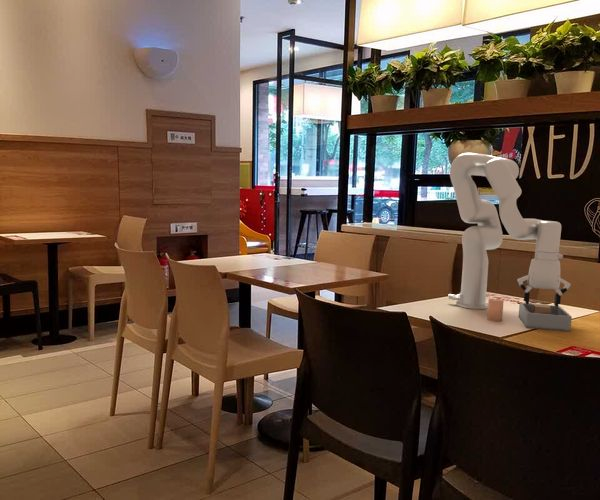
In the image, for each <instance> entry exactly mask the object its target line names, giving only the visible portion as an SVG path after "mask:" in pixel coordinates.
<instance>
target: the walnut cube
mask: <svg viewBox="0 0 600 500" xmlns="http://www.w3.org/2000/svg"><path fill="white" fill-rule="evenodd" d="M532 304H533V312H532V313H538V314H550V313H551V307H550V306H549V304H541V303H532Z"/></svg>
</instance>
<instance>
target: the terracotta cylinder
mask: <svg viewBox="0 0 600 500" xmlns="http://www.w3.org/2000/svg"><path fill="white" fill-rule="evenodd" d="M504 302H505V301H504V300H503V299H499V298H488V302H487V303H488V309H487V317H486V318H487V320H488V321H492V322H502V321H503V315H504V312H503V311H504Z"/></svg>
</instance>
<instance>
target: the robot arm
mask: <svg viewBox="0 0 600 500" xmlns="http://www.w3.org/2000/svg"><path fill="white" fill-rule="evenodd" d="M519 173H520V169H519V165H518V164H517V162H516V161H514V160H513V159H508V158H503V157H498V156H493V155H490V154H483V153H476V152H464V153H461V154H459V155H457V156H456V157H454V159H453V161H452V163H451V164H450V168H449V178H450V183H451V185H452V187H453V191H454V194H455V199H456V203H457V207H458V211H459V215H460V218H461V220H462V221H463V222H464V223H466V224H477V225H473V226H470V227H468V228H466V229H465V230H464V231H463V233H462V235H461V244H462V269H461V270H462V272H461V273H462V274H461V286H460V292H459V293H457V294H451V293H449V294H448V300H452V301H456V302H455V305H456V306H458V307H460V308H465V309H470V310H486V309H487V310H488V302H486V301H487V300H486V299H487V298H486V297H487V290H488V289H487V288H488V287H487V286H488V274H489V257H488V253H487V250H488V251H490V250H496V249H498V248H499V247H500V246H501V245H502V243H503V239H504V238H503V237H504V236H503V230H502V225H503V226H504V228H505V230H506V232H507V233H508V234H509V236H510V237H511V238H512V239H514V240H517V241H529V240H536V241H535V250H534V258H532V259H530V265H529V269H528V274H527V275H524V276H522V277H520V278H517V282H518V285H519V287H520V288H521V289H522V290H523V292H524V294H523V301H524V303H526V304H530V295H531V293H530V291H531V290H532V289H539V290H540V289H541V290H552V291H553V290H554V291H555V292H556V293H555V295H554V303H553V306H556V307H558V306H559V305H561V298H562V296H563V294H565V293H566V292H567V291H568V290H569V288H570V287H571V285H572V283H570V282H568V281H567V280H565V279H563V278H561V262H560V259H563V258H564V255H563V254H561V253H560V243H561V233H562V224H561V223H560V222H559V221H553V220H542V219H537V218H523V216H522V215H521V213H520V211H519V209H518V205H517V200H518V198H520V196H521V195H522V189H521V186H520V185H519V183H518V181H517V180H516V179H517V178H518V177H519ZM472 176H477V177H478V176H479V177H480V176H481V177H485V178H486V179H487V181H488V182H489V184H490V186H491V188H492V190H493V191H494V194H495V195H496V196H495V197H497V199H498V203H499V205H498V210H497V207H496V206H495V204H494V203H493V202H492V201H491V200H488V199H482V198H480V195H479V190H478V188H477V185H476V182H475V181H474V180H473V177H472ZM498 211H499V214H498ZM499 217H500V218H499ZM500 220H501V221H500ZM501 223H502V225H501ZM524 281H527V285H526V286H525V285H524V283H523V282H524ZM561 283H562V284H563V285H564V286H563V287H561ZM560 287H561V289H560Z"/></svg>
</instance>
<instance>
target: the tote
mask: <svg viewBox="0 0 600 500" xmlns="http://www.w3.org/2000/svg"><path fill="white" fill-rule="evenodd" d="M533 304H534V303H529V304H526V303H525V302H520V303H519V305H518V318H519V319H520V321H521V322H522V324H523V325H524V326H525V328H526V329H537V330H546V331H549V330H550V331H559V332H569V333H570V332H571V327H572V315H570V314H569V312H567V311H566V310H565V309H564V308H563V307H561V306H560V305H558V307H556V306H555V305H554V304H553V305H549V304H548V305H549V306H550V307H551V313H550V314H538V313H532V312H533Z"/></svg>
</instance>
